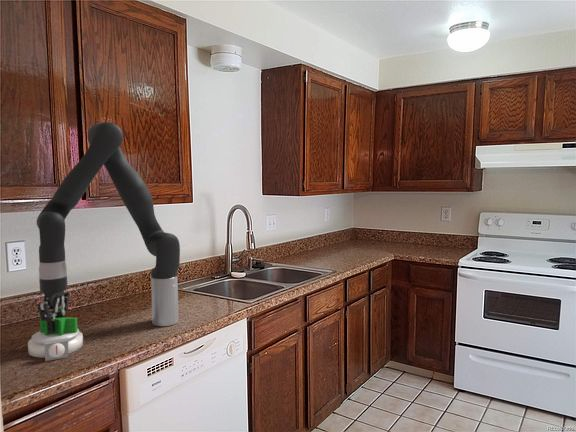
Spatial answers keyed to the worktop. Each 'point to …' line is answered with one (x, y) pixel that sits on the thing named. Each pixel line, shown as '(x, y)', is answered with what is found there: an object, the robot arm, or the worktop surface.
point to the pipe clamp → (60, 326)
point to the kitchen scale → (54, 345)
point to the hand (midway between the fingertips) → (55, 329)
